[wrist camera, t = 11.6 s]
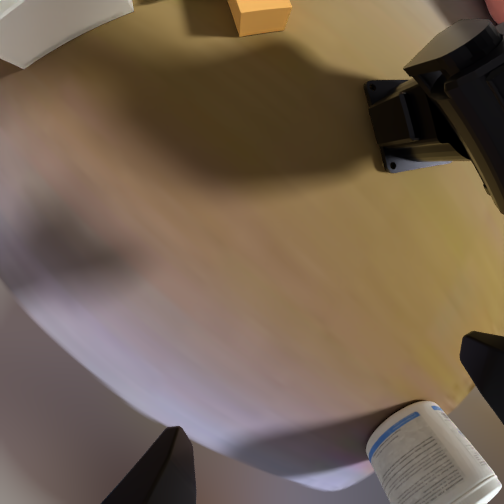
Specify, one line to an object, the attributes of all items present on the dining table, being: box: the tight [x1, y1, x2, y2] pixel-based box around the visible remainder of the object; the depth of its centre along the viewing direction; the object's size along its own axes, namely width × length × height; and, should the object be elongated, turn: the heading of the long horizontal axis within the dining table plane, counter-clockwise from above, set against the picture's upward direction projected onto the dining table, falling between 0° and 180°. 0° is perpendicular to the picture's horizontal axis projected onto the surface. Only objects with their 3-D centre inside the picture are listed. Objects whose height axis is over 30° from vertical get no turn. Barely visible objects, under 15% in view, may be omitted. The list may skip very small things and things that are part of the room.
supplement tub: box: [366, 401, 502, 504], centre depth 17 cm, size 10×10×15 cm
